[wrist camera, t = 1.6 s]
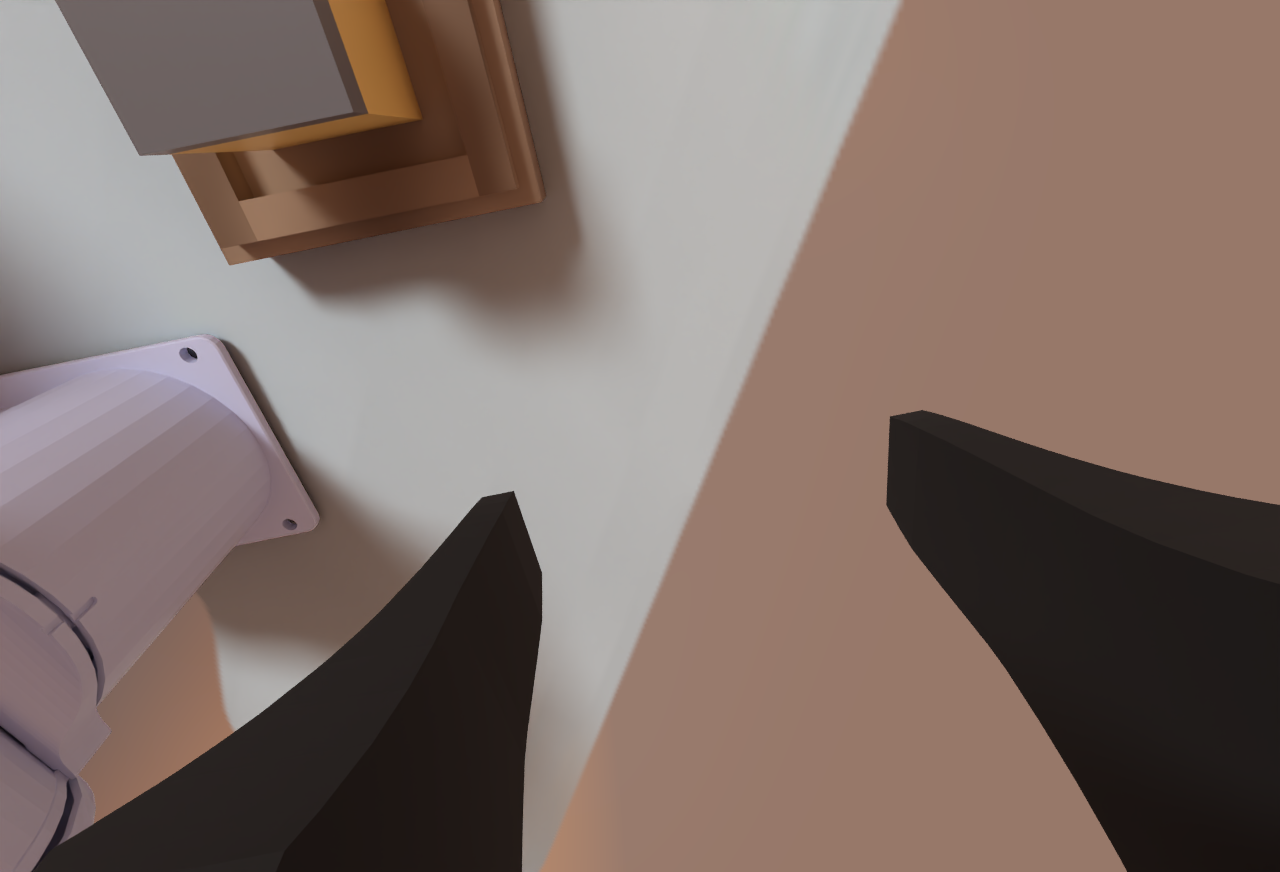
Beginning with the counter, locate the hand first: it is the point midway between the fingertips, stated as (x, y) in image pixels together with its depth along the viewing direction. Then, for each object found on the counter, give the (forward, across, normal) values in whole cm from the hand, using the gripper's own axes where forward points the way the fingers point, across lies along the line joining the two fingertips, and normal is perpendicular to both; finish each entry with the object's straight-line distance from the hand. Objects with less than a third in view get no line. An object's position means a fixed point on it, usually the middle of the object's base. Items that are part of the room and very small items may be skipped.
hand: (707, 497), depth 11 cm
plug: (+8, +7, -10) cm, 14 cm away
